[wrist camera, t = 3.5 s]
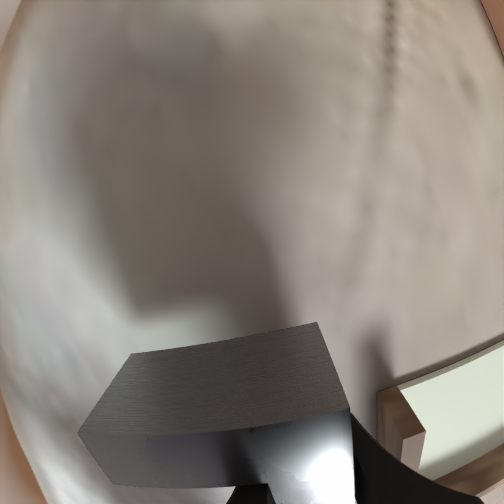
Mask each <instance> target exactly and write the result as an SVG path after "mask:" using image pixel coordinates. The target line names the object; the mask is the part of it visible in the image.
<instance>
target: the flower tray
mask: <svg viewBox="0 0 504 504" xmlns="http://www.w3.org/2000/svg"><path fill="white" fill-rule="evenodd" d="M481 2H482V4H483V7H484V9H485V11H486V13H487V15H488V18H489V20H490V22H491V25H492V27H493V30H494V32H495V35H496V37H497V40H498V43H499V45H500V48H501V51H502V54H503V57H504V0H481Z"/></svg>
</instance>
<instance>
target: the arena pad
mask: <svg viewBox="0 0 504 504" xmlns="http://www.w3.org/2000/svg"><path fill="white" fill-rule="evenodd" d="M397 386H398V388H399V389H400V391H401V393H402V394H403V396H404V397H405V399H406V400H407V402H408V403H409V405H410V406H411V408H412V410H413V411H414V413H415V414H416V416H417V417H418V419H419V420H420V422H421V424H422V425H423V427H424V428H425V430H426V434H425V440H424V445H423V450H422V455H421V460H420V465H419V469H418V473H419V474H421V475H423V476H424V477H426V478H428V479H430V480H432V481H433V480H435V479H437V478H440V477H442V476H444V475H446V474H448V473H450V472H452V471H454V470H456V469H458V468H460V467H462V466H464V465H466V464H468V463H470V462H472V461H474V460H476V459H477V458H479V457H481V456H483V455H484V454H486V453H488V452H490V451H491V450H493V449H495V448H496V447H498V446H500V445H501V444H503V443H504V340H502V341H501V342H499V343H497V344H495V345H493V346H491V347H489V348H487V349H485V350H482V351H480V352H478V353H476V354H474V355H472V356H470V357H467V358H465V359H463V360H461V361H458V362H456V363H454V364H452V365H449V366H447V367H444V368H442V369H440V370H437V371H435V372H432V373H429V374H427V375H424V376H422V377H419V378H416V379H414V380H411V381H408V382H405V383H403V384H400V385H397Z"/></svg>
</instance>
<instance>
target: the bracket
mask: <svg viewBox="0 0 504 504" xmlns="http://www.w3.org/2000/svg"><path fill="white" fill-rule="evenodd" d="M77 433H78V435H79V436H80V438H81V439H82V441H83V442H84V444H85V445H86V447H87V448H88V450H89V451H90V453H91V454H92V456H93V457H94V459H95V460H96V461H97V463H98V464H99V466H100V467H101V468H102V470H103V471H104V472H105V474H106V475H107V476H108V478H109V479H110V480H111V482H112V483H113V484H117V485H127V486H140V487H157V488H214V487H232V486H244V485H254V484H263V483H268V484H269V487H270V490H271V492H272V495H273V498H274V500H275V503H276V504H355V496H354V463H353V443H352V427H351V413H350V406H349V403H348V401H347V398H346V395H345V393H344V390H343V387H342V385H341V382H340V380H339V377H338V374H337V372H336V369H335V367H334V364H333V361H332V359H331V356H330V354H329V351H328V349H327V346H326V343H325V341H324V338H323V336H322V333H321V331H320V328H319V326H318V323H317V322H314V323H310V324H305V325H301V326H296V327H291V328H287V329H282V330H277V331H272V332H267V333H262V334H257V335H252V336H246V337H241V338H235V339H230V340H224V341H218V342H212V343H206V344H200V345H193V346H187V347H180V348H173V349H166V350H158V351H150V352H142V353H134V354H131V355H130V356H129V358H128V359H127V361H126V362H125V364H124V365H123V366H122V368H121V369H120V371H119V372H118V374H117V375H116V376H115V378H114V379H113V381H112V382H111V384H110V385H109V387H108V388H107V389H106V391H105V392H104V394H103V395H102V397H101V398H100V400H99V401H98V403H97V404H96V406H95V407H94V409H93V410H92V411H91V413H90V414H89V416H88V417H87V419H86V420H85V422H84V423H83V425H82V426H81V428H80V429H79V431H78V432H77Z"/></svg>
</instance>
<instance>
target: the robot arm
mask: <svg viewBox="0 0 504 504" xmlns="http://www.w3.org/2000/svg"><path fill="white" fill-rule="evenodd" d="M351 427H352V443H353V463H354V496H355V499H356V501H357V504H484V503H483V501H482V500H481V499H480V498H479V497H477V496H473V495H469V494H466V493H462V492H459V491H456V490H453V489H451V488H448V487H445V486H443V485H441V484H439V483H437V482H435V481H432V480H430V479H428V478H426V477H424V476H423V475H421V474H419V473H417V472H416V471H414V470H412V469H411V468H409V467H408V466H406V465H405V464H404V463H402V462H401V461H399V460H398V459H397V458H395V457H394V456H393V455H392V454H390V453H389V452H388V451H387V450H386V449H385V448H383V447H382V446H381V445H380V444H379V443H378V442H377V441H376V440H375V439H374V438H373V437H372V436H371V435H370V434H369V433H368V432H367V431H366V430H365V429H364V427H363V426H362V425H361V424H360V423H359V422H358V420H357V419H356V418H355V416H354V415H353V414H351ZM226 504H276V503H275V500H274V498H273V495H272V492H271V490H270V487H269V484H268V483H263V484H254V485H244V486H236V487H235V489H234V491H233V493H232V495H231V497H230V498H229V500H228V502H227V503H226Z"/></svg>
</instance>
